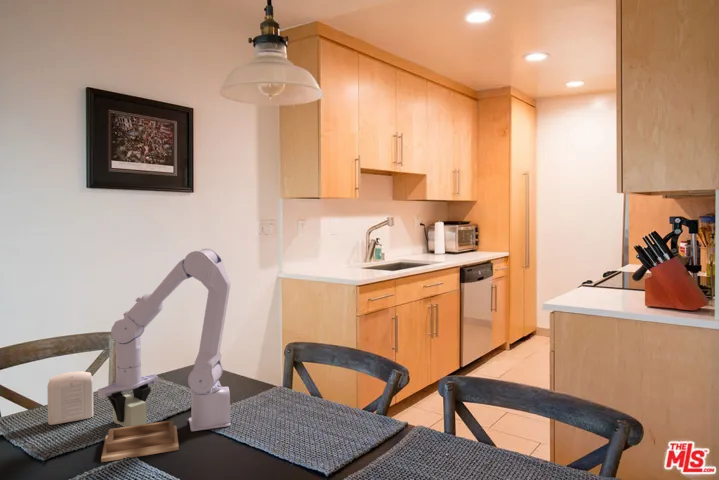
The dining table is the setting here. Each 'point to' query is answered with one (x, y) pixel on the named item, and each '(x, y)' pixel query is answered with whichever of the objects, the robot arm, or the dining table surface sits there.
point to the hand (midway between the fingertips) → (129, 418)
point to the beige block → (132, 412)
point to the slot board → (140, 440)
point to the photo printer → (70, 397)
